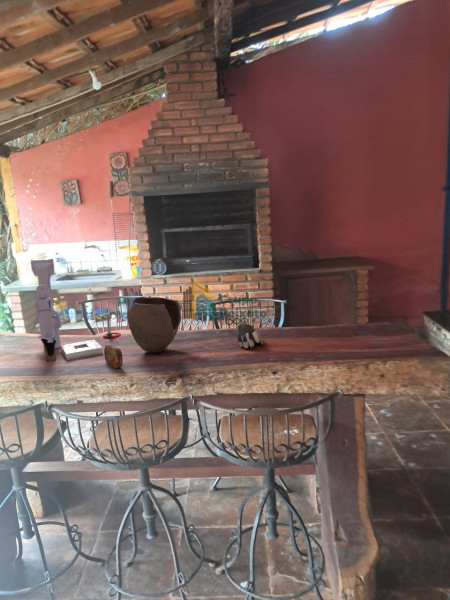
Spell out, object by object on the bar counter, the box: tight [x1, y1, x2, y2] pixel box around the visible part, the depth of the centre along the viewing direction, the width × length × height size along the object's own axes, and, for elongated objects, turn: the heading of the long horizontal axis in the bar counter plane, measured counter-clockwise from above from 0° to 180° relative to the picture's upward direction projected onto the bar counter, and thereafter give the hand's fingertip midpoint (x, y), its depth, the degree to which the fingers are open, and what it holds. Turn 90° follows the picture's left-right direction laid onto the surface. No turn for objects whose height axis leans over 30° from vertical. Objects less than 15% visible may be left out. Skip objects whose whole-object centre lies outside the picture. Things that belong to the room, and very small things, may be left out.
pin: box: [43, 344, 57, 362], centre depth 203 cm, size 4×4×8 cm
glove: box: [236, 322, 264, 349], centre depth 214 cm, size 12×10×25 cm
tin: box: [103, 344, 124, 369], centre depth 191 cm, size 15×3×8 cm, turn 35°
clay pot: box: [126, 296, 182, 354], centre depth 206 cm, size 24×24×25 cm
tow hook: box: [102, 313, 122, 339], centre depth 238 cm, size 8×13×9 cm
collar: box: [60, 339, 104, 361], centre depth 212 cm, size 16×16×3 cm
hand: (50, 354), depth 204 cm, fingers closed on pin, 4 cm apart
